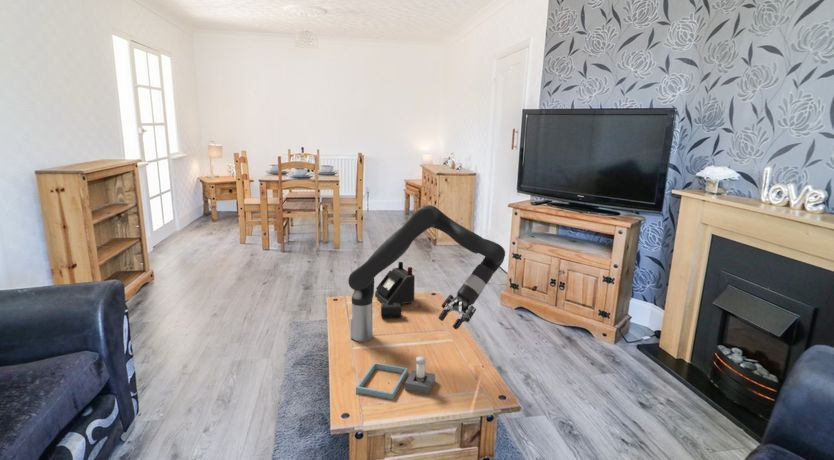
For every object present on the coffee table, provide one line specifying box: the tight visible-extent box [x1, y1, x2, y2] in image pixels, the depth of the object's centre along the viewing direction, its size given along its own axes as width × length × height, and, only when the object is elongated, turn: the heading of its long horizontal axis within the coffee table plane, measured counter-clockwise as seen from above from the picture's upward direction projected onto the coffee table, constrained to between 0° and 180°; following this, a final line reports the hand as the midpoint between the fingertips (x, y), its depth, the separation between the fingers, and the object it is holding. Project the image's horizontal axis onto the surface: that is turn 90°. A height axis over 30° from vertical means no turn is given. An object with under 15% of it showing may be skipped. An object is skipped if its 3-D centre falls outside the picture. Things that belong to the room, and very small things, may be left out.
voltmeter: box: [374, 261, 416, 305], centre depth 244 cm, size 16×16×20 cm
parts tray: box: [355, 362, 409, 400], centre depth 167 cm, size 14×18×3 cm
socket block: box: [404, 369, 436, 396], centre depth 165 cm, size 9×9×4 cm
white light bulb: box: [415, 355, 427, 383], centre depth 164 cm, size 4×4×11 cm
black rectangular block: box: [380, 302, 402, 319], centre depth 225 cm, size 10×7×7 cm
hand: (447, 323), depth 166 cm, fingers open, 8 cm apart
